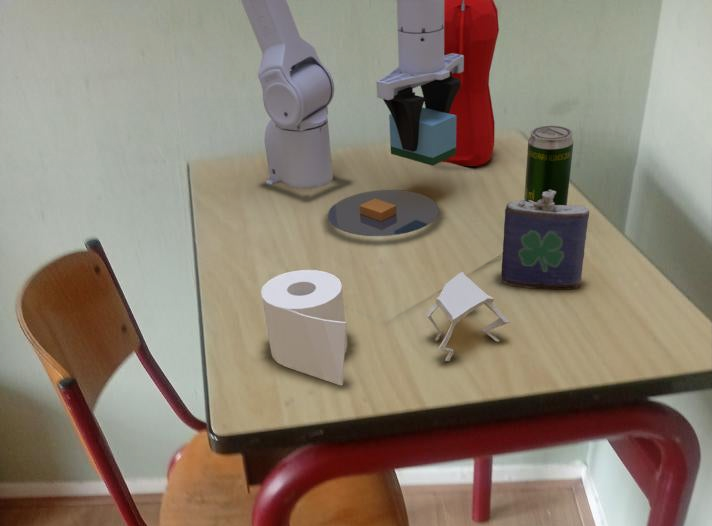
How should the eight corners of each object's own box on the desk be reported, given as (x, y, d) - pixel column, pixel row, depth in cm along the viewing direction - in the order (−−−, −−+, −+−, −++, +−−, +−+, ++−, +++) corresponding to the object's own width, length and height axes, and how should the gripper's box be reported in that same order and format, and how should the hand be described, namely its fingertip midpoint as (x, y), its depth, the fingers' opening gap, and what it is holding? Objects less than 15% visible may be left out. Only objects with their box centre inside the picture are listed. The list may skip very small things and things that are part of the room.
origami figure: (515, 357, 83) (518, 314, 79) (435, 366, 82) (434, 323, 79) (490, 301, 91) (492, 260, 88) (417, 309, 91) (416, 268, 87)
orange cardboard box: (359, 214, 108) (359, 205, 107) (375, 206, 110) (374, 198, 109) (381, 221, 106) (380, 212, 105) (396, 214, 107) (396, 205, 107)
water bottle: (427, 173, 120) (425, -25, 103) (436, 147, 128) (435, -41, 111) (490, 174, 119) (497, -27, 102) (495, 147, 126) (503, -43, 109)
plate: (305, 223, 109) (304, 216, 108) (381, 188, 117) (381, 181, 116) (386, 253, 101) (385, 246, 101) (461, 214, 109) (461, 206, 108)
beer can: (572, 229, 104) (584, 131, 95) (544, 242, 101) (553, 143, 93) (541, 217, 107) (550, 121, 99) (513, 229, 104) (519, 132, 96)
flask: (581, 280, 94) (592, 188, 86) (578, 292, 92) (590, 199, 84) (502, 274, 96) (507, 183, 89) (498, 285, 94) (502, 194, 87)
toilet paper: (341, 385, 80) (335, 324, 76) (255, 356, 85) (244, 296, 80) (386, 347, 85) (382, 287, 80) (302, 321, 90) (294, 263, 85)
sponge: (390, 153, 109) (388, 114, 105) (414, 143, 111) (413, 105, 108) (432, 166, 105) (432, 125, 102) (456, 155, 107) (456, 115, 104)
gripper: (405, 45, 92) (408, 166, 101) (483, 19, 99) (480, 134, 109) (361, 37, 96) (368, 155, 105) (440, 12, 103) (440, 124, 112)
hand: (422, 143), depth 107 cm, fingers closed on sponge, 5 cm apart
